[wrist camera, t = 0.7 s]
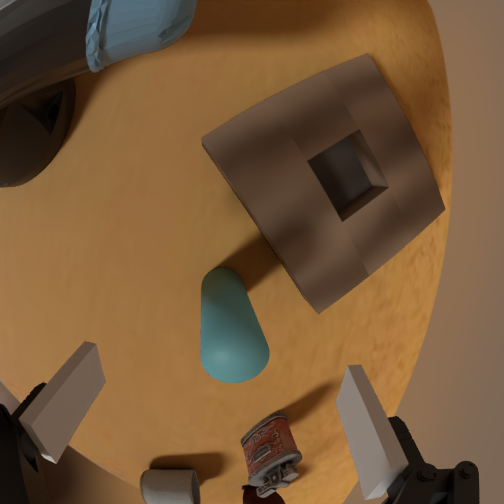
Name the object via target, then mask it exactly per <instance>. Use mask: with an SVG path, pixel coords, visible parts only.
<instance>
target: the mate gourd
mask: <svg viewBox="0 0 504 504" xmlns="http://www.w3.org/2000/svg"><path fill="white" fill-rule="evenodd" d="M259 487H260V486H242V489H244V493H243V504H285V502H284V500H283V499H282V497H281V496H280V495H279V494H278V493H277V492H276V491H275V492H273V493H272V494H270V495H268V496H266V497H264V498H262V497H260V496H258V494H257V490H256V489H257V488H259Z"/></svg>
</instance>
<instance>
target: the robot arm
mask: <svg viewBox="0 0 504 504" xmlns="http://www.w3.org/2000/svg"><path fill="white" fill-rule="evenodd" d="M196 5H197V0H0V187H15V186H19V185H22V184H24V183H26V182H28V181H30V180H31V179H33V178H34V177H36V176H37V175H38V174H39V173H40V172H41V171H42V170H43V169H44V168H45V167H46V166H47V165H48V164H49V162H50V161H51V160H52V158H53V157H54V156H55V154H56V153H57V151H58V149H59V148H60V146H61V144H62V142H63V140H64V138H65V136H66V133H67V131H68V128H69V126H70V122H71V119H72V115H73V111H74V105H75V83H74V78H73V77H74V76H77V75H80V74H83V73H86V72H89V71H92V72H93V73H95V72H99V71H101V70H104V69H105V68H106V67H107V66H108V65H110V64H113V63H116V62H119V61H122V60H125V59H128V58H132V57H135V56H138V55H142V54H146V53H150V52H155V51H158V50H161V49H164V48H166V47H169V46H171V45H172V44H174V43H175V42H177V41H178V40H179V39H180V38H181V37H182V36H183V35H184V34H185V33H186V32H187V30H188V29H189V27H190V25H191V23H192V21H193V18H194V14H195V10H196ZM105 383H106V380H105V377H104V373H103V370H102V366H101V362H100V358H99V354H98V349H97V345H96V344H95V343H91V342H86V341H85V342H84V343H83V344H82V345H81V346H80V347H79V348H78V349H77V350H76V351H75V353H74V354H73V355H72V356H71V357H70V358H69V359H68V360H67V362H66V363H65V364H64V365H63V366H62V367H61V368H60V370H59V371H58V372H57V373H56V374H55V375H54V376H53V378H52V379H51V380H50V381H49V382H48V383H47V384H46V383H44V382H43V383H41V384H39V385H38V386H36V387H35V388H34V389H33V390H32V391H31V392H30V395H28V396H27V397H26V400H25V399H24V401H23V402H22V403H21V404H20V406H19V407H18V408H17V409H16V410H15V412H14V413H13V414H12V415H10V414H9V412H8V410H7V408H6V407H5V406H4V405H3V404H0V504H51V502H50V499H49V496H48V492H47V489H46V486H45V482H44V479H43V475H42V471H41V468H40V463H39V459H38V457H37V455H36V454H37V452H38V451H40V453H41V454H42V456H43V457H44V458H46V459H48V460H50V461H52V462H54V463H56V464H57V462H58V460H59V458H60V457H61V455H62V453H63V451H64V449H65V448H66V446H67V444H68V443H69V441H70V439H71V438H72V436H73V434H74V433H75V431H76V429H77V428H78V426H79V424H80V423H81V421H82V419H83V418H84V416H85V414H86V413H87V411H88V410H89V408H90V406H91V405H92V403H93V402H94V400H95V398H96V397H97V395H98V394H99V392H100V391H101V389H102V387H103V386H104V384H105ZM336 406H337V409H338V412H339V416H340V419H341V422H342V425H343V428H344V431H345V435H346V438H347V441H348V444H349V448H350V451H351V454H352V458H353V461H354V464H355V468H356V471H357V474H358V478H359V481H360V485H361V488H362V492H363V495H364V499H365V500H367V499H372V498H376V497H380V496H382V495H383V494H384V493H385V491H386V490H387V493H388V498H387V499H385V501H383V503H382V504H479V472H478V468H477V467H476V465H475V464H473V463H472V462H470V461H462V462H460V463H459V464H458V465H457V466H456V467H455V468H454V469H436V467H435V466H433V465H431V464H428V463H425V462H424V460H423V458H422V456H421V454H420V452H419V450H418V448H417V446H416V444H415V442H414V440H413V439H412V436H411V434H410V432H409V430H408V428H407V426H406V425H405V423H404V422H403V421H402V420H401V419H400V418H399V417H397V416H395V417H389V418H387V416H386V414H385V412H384V410H383V408H382V406H381V404H380V402H379V400H378V397H377V395H376V393H375V391H374V389H373V387H372V385H371V384H370V382H369V380H368V378H367V376H366V374H365V372H364V370H363V368H362V366H361V365H347V368H346V372H345V375H344V378H343V382H342V385H341V388H340V391H339V394H338V397H337V400H336Z"/></svg>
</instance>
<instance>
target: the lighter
mask: <svg viewBox="0 0 504 504" xmlns="http://www.w3.org/2000/svg"><path fill="white" fill-rule="evenodd" d="M241 446H242V448H243V449H244V454H245V459H246V464H247V469H248V473H249V477H248V481H249V484H250V485H252V486H260V487H259V488H257V489H256V490H257V494H258V496H260V497H262V498H264V497H266V496H268V495H270V494H272V493H273V492H275V491H276V490H277V489H278V488H280V487H281V488H286V487H288V486H289V485H290V481H291V480H292V479H294V478H295V477H297V476H298V475H299V474H298V471H297V469H296V468H295V466H296V465H297V464H298V463H299V462H300V461H301V460H302V455H301V452H300V451H299V450H298V449H297V446H296V444H295V441H294V439H293V436H292V433H291V431H290V428H289V426H288V419H287V416H286V415H285V414H284V413H282V412H275V413H272V414H270V415H269V416H267V417H266V418H264V419H263V420H261V421H260V422H259V423H257V424H256V425H255V426H254V427H252V428H251V429H250V430H249V431H248V432H247V433H246V434H245V436H244V437H243V438H242V439H241Z"/></svg>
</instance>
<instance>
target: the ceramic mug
mask: <svg viewBox="0 0 504 504" xmlns="http://www.w3.org/2000/svg"><path fill="white" fill-rule="evenodd" d="M140 494H141V498H142V500H143V502H144V503H145V504H200V489H199V482H198V478H197V474H196V472H195V471H194V470H193V469H191V470H161V469H151V470H146V471H144V472H143V474H142V475H141V478H140Z"/></svg>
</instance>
